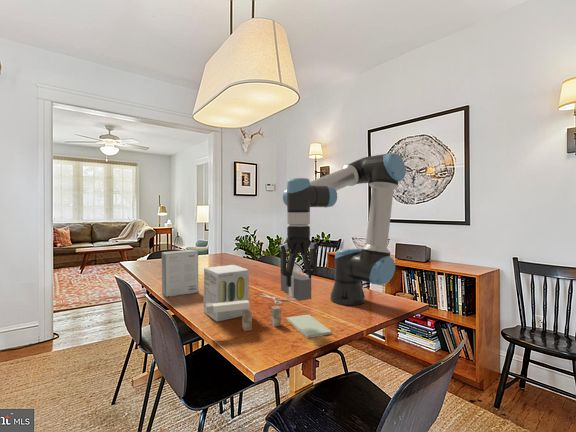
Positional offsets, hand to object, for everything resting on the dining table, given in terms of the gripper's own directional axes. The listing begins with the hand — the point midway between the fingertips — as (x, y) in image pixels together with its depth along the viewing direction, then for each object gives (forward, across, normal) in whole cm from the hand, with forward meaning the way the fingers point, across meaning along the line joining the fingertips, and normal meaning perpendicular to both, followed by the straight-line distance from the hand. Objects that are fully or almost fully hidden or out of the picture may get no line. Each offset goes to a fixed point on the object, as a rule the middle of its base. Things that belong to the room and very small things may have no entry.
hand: (298, 294), depth 101 cm
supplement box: (+12, +20, -25) cm, 34 cm away
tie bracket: (+12, +11, -8) cm, 18 cm away
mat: (+12, -4, -2) cm, 13 cm away
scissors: (+13, -4, -38) cm, 41 cm away
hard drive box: (+12, +35, -61) cm, 71 cm away
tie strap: (+5, +22, -7) cm, 24 cm away
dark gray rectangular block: (0, 0, -2) cm, 3 cm away
